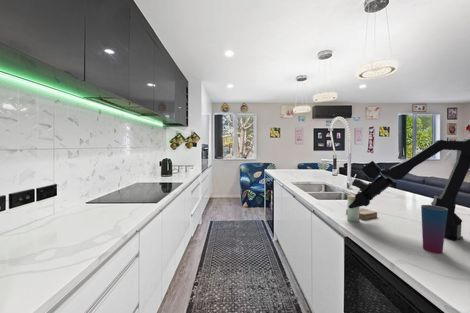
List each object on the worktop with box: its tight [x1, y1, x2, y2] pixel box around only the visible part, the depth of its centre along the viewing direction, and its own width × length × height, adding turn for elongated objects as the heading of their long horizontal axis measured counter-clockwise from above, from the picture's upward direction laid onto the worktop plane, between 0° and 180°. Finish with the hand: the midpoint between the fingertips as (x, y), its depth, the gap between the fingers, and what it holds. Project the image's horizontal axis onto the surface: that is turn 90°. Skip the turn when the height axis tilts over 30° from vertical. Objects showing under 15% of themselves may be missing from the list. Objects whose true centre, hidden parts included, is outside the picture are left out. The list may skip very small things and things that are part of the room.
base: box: [345, 207, 378, 220], centre depth 115 cm, size 10×10×2 cm
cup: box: [420, 204, 448, 254], centre depth 76 cm, size 7×7×15 cm
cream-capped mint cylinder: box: [346, 194, 361, 223], centre depth 107 cm, size 5×5×12 cm
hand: (350, 206), depth 108 cm, fingers closed on cream-capped mint cylinder, 5 cm apart
